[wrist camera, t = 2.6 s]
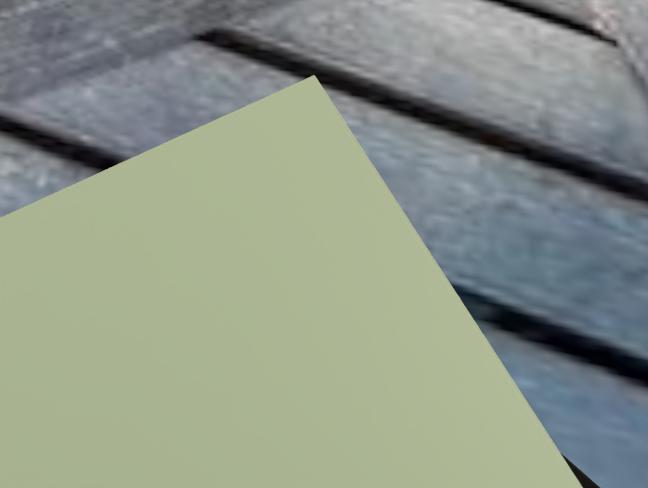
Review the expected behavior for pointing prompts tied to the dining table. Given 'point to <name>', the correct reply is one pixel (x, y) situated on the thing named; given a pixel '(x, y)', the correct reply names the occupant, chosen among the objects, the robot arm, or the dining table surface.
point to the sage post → (248, 326)
